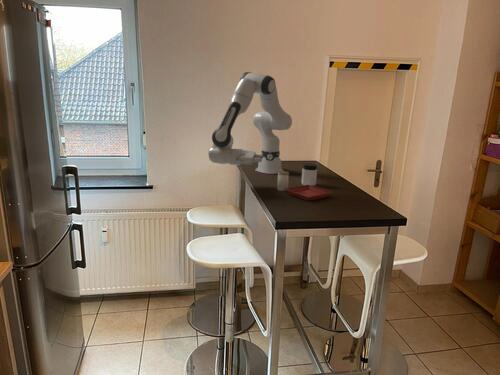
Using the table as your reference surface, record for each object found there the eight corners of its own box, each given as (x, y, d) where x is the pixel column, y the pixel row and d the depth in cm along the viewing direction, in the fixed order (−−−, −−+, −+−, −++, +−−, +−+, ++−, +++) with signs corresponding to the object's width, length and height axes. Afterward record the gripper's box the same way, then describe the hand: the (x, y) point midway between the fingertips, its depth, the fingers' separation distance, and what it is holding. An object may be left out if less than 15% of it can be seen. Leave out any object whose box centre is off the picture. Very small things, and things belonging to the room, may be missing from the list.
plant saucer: (284, 194, 211) (284, 188, 210) (307, 189, 222) (308, 184, 221) (308, 203, 197) (308, 196, 197) (332, 197, 208) (332, 191, 207)
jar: (307, 186, 227) (309, 166, 223) (298, 183, 233) (299, 163, 230) (318, 185, 232) (320, 165, 228) (309, 181, 238) (311, 162, 235)
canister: (276, 187, 222) (277, 170, 219) (288, 188, 221) (289, 171, 219) (276, 190, 216) (277, 173, 213) (288, 191, 215) (289, 173, 213)
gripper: (235, 154, 206) (261, 156, 204) (240, 148, 225) (264, 149, 224) (234, 166, 207) (260, 168, 206) (239, 159, 227) (263, 160, 226)
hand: (262, 158), depth 215 cm, fingers open, 8 cm apart
